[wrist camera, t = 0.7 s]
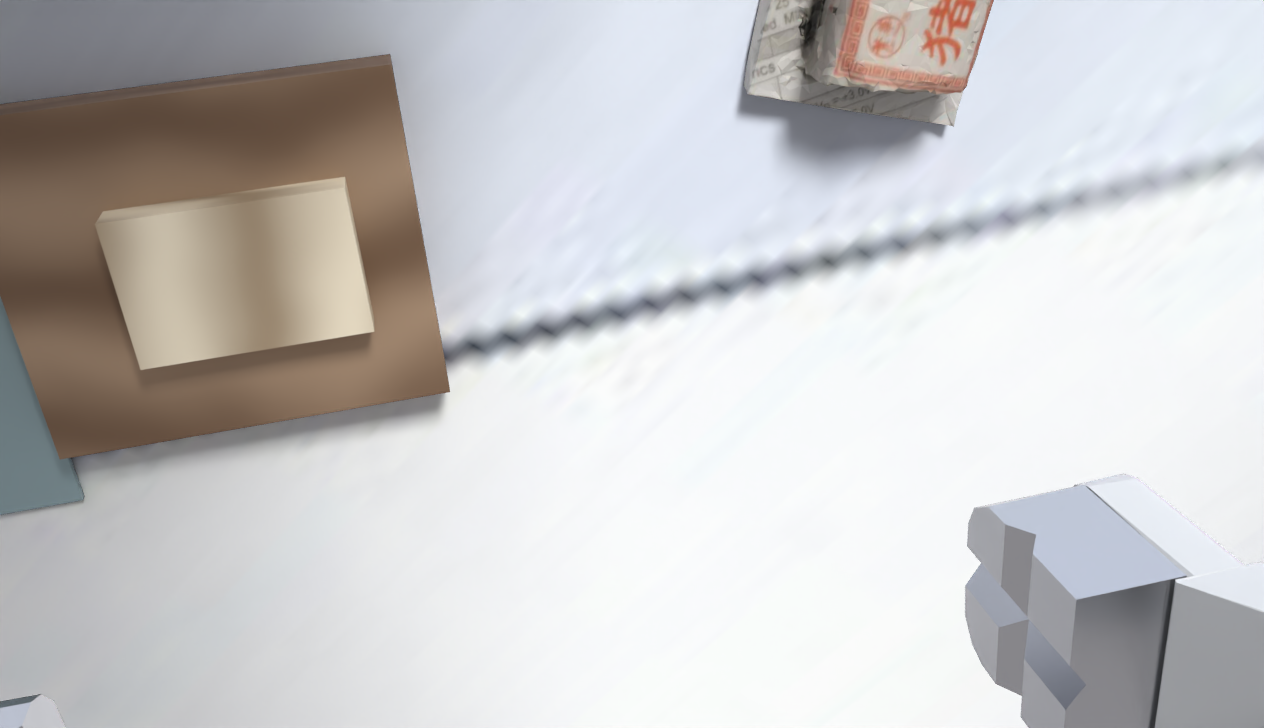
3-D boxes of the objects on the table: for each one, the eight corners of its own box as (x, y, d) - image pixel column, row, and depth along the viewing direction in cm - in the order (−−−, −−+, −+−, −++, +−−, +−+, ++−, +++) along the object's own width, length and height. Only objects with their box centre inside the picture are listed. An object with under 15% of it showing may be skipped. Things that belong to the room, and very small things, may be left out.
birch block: (146, 353, 46) (140, 369, 45) (103, 211, 43) (94, 224, 42) (373, 317, 47) (374, 331, 46) (345, 176, 45) (344, 187, 43)
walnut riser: (-46, 110, 43) (-63, 123, 41) (389, 54, 45) (391, 64, 43) (70, 436, 49) (59, 459, 47) (446, 371, 51) (449, 391, 49)
